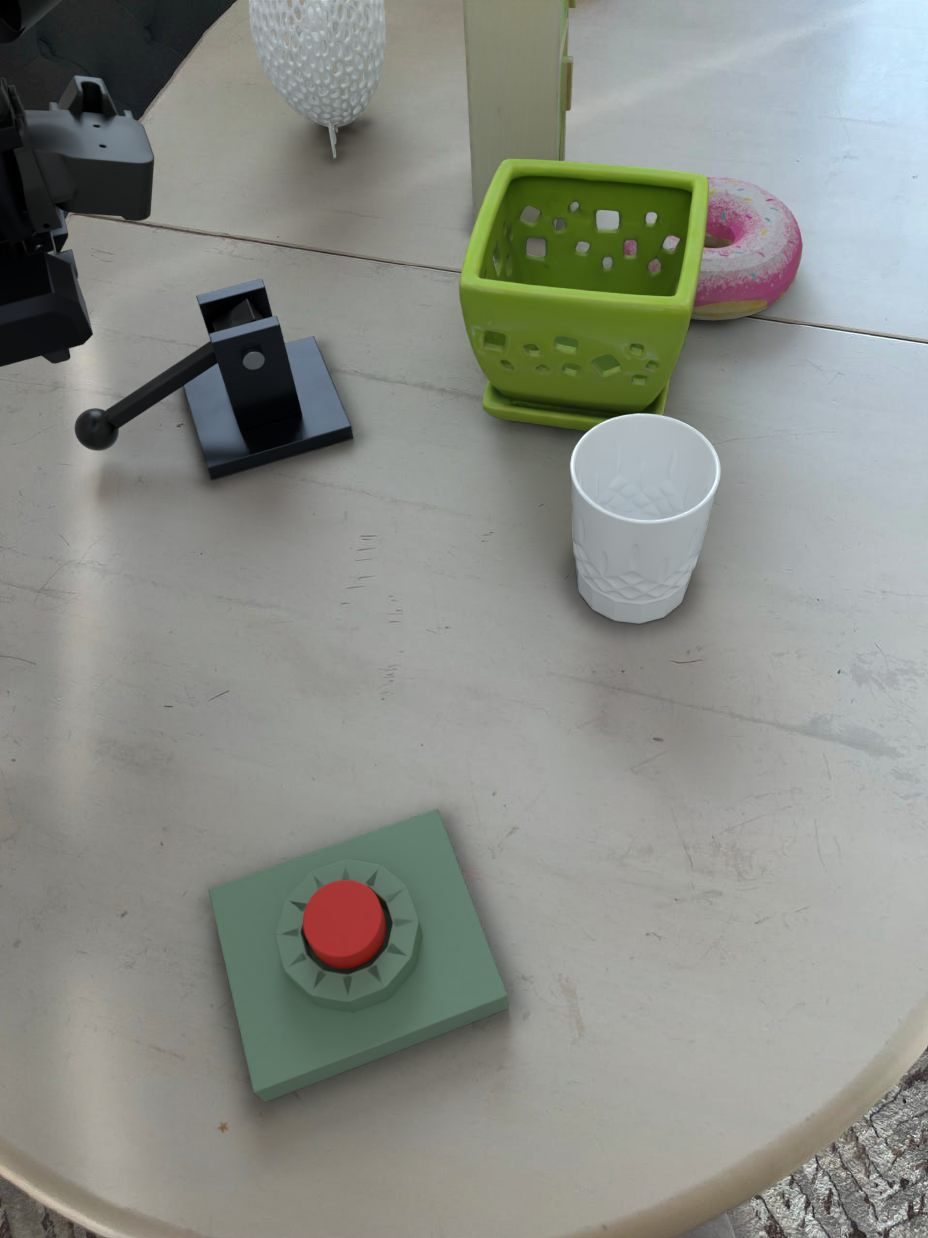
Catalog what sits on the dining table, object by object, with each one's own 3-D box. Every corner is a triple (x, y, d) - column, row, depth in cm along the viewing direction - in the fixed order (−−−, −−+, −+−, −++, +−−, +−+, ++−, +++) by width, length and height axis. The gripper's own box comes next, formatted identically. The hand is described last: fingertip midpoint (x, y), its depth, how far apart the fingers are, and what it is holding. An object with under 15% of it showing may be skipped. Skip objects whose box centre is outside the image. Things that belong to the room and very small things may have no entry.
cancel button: (320, 981, 48) (314, 969, 47) (300, 908, 50) (293, 895, 48) (396, 953, 48) (391, 940, 47) (373, 882, 50) (368, 868, 49)
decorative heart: (290, 75, 100) (249, -134, 86) (402, 70, 100) (379, -141, 86) (264, 187, 90) (214, -29, 76) (389, 182, 89) (361, -37, 75)
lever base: (211, 480, 71) (174, 381, 64) (183, 385, 77) (146, 283, 69) (354, 438, 72) (333, 337, 65) (316, 347, 78) (293, 245, 71)
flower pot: (670, 467, 69) (693, 310, 59) (462, 442, 72) (449, 286, 61) (692, 326, 77) (716, 165, 66) (504, 307, 79) (498, 149, 69)
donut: (631, 344, 76) (637, 287, 72) (600, 232, 84) (603, 174, 80) (817, 324, 76) (833, 266, 72) (769, 214, 84) (781, 155, 80)
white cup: (633, 656, 61) (648, 548, 53) (539, 577, 65) (539, 464, 57) (725, 580, 64) (752, 466, 56) (629, 509, 67) (641, 392, 59)
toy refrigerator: (565, 236, 84) (571, -53, 67) (473, 232, 85) (456, -54, 68) (574, 178, 88) (583, -108, 71) (487, 174, 89) (474, -108, 72)
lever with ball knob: (97, 465, 71) (68, 442, 69) (91, 438, 73) (62, 414, 71) (278, 347, 69) (254, 319, 67) (268, 321, 70) (244, 293, 68)
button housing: (263, 1103, 49) (244, 1084, 45) (218, 904, 54) (198, 874, 51) (508, 1009, 50) (506, 984, 47) (441, 825, 56) (434, 792, 53)
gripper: (146, 155, 45) (231, 424, 58) (83, -28, 55) (168, 234, 68) (-125, 220, 43) (25, 483, 56) (-136, 19, 53) (-8, 279, 66)
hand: (61, 357), depth 61 cm, fingers closed
